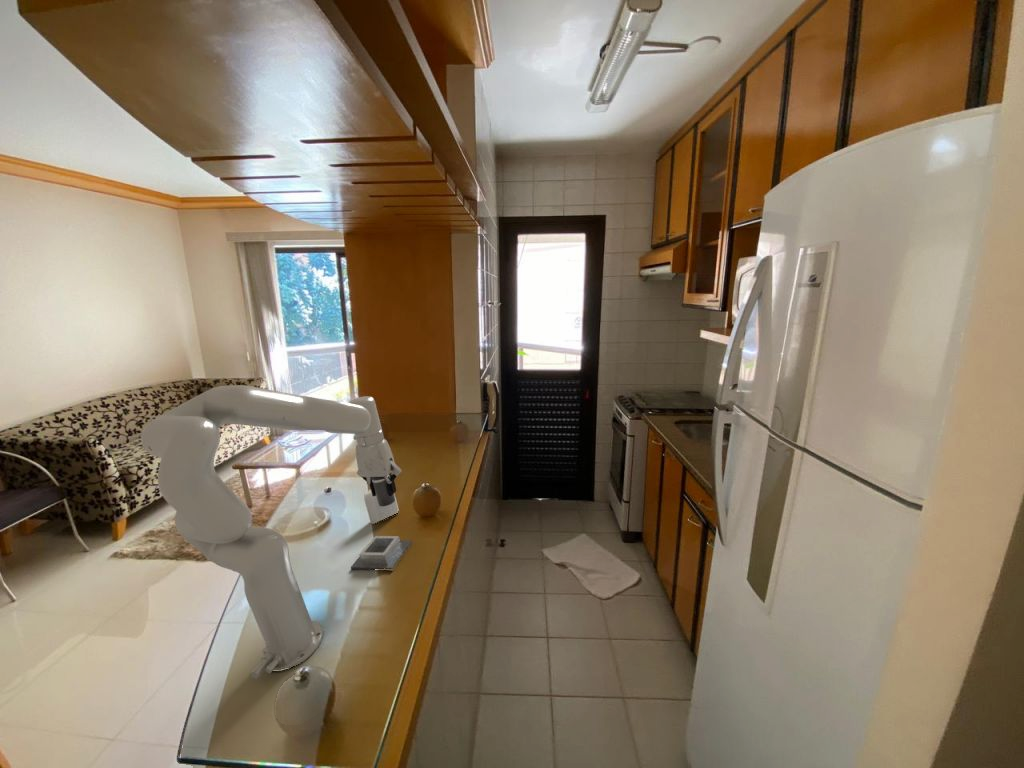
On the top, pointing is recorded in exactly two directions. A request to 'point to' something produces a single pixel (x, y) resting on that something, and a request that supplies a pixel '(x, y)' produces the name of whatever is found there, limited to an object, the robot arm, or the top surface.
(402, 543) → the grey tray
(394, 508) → the photo printer
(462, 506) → the top surface
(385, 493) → the lens
